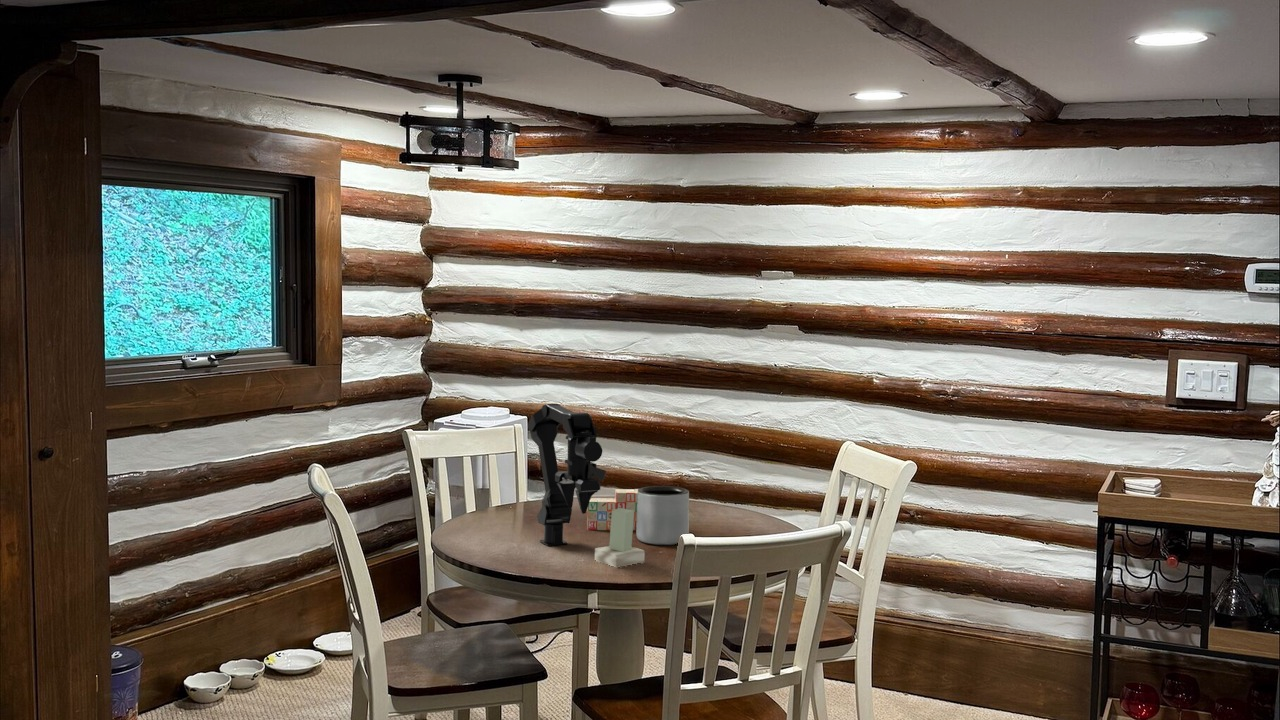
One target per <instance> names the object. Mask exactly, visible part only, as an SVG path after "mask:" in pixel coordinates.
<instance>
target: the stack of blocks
mask: <svg viewBox="0 0 1280 720" xmlns="http://www.w3.org/2000/svg"><path fill="white" fill-rule="evenodd" d="M638 489H639V488H634V489H632V488H631V489H630V488H629V489H627V488H625V489H623V488H620V489H619V488H617V489H615V492H614V493H615V494H614V498H611V497H610V498H606V497H605V498H603V497H601V498H599V497H596V498H595V497H593V498H592V497H591V499H590V502H589V505H588V508H587V511H586V529H587V531H610V529H611V516H612V510H615V509H618V508H623V509H628V510H633V511H634V520H633V531H636V530H637V496H638Z"/></svg>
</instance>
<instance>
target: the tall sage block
mask: <svg viewBox="0 0 1280 720" xmlns="http://www.w3.org/2000/svg"><path fill="white" fill-rule="evenodd" d="M633 520H634V511H633V510H628V509H623V508H618V509H615V510H612V516H611V529H610V530H609V531H610V532H609V545H608V546H609V549H612V550H616V551H621V552H624V551H627V550H630V549H631V546H632V544H633V531H634V530H633Z"/></svg>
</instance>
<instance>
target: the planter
mask: <svg viewBox="0 0 1280 720" xmlns="http://www.w3.org/2000/svg"><path fill="white" fill-rule="evenodd" d="M637 489H638V496H637V530H635V531H636V534H635V535H636V539H637V540H639V541H640V542H641V543H644V544H647V545H648V544H649V545H653V546H654V545H655V546H674V545H675V544H676V545H678V544H677V543H678V540H679V537H680V535H681V534H686V533H689V534H690V532H689V531H690V525H689V523H690V517H689V516H690V515H689V513H690V491H689V490H688V489H686V488H684V487H679V486H671V485H653V486H645V487H640V488H637Z"/></svg>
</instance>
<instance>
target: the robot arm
mask: <svg viewBox="0 0 1280 720" xmlns="http://www.w3.org/2000/svg"><path fill="white" fill-rule="evenodd" d="M527 423H528V424H527V427H528V431H529V433H530V436H531V439H532V441H533V442H534V443H535V444H536V446H537V447H538V454H539V459H540V464H541V465H540V466H541V470H542V478H543V484H544V490H545V491H544V492H545V493H544V495H543V498H542V500H541V507H540V510H539V511H538V514H537V523H538V524H540V525H542V526H543V529H544V531H543V539H540V540H539V542H540V543H542V544H543V545H544V546H547V547H551V546H552V547H553V546H561V545H567V544H568V542H567V541H565V540H564V524H570V523H571V518H572V517H571V516H572V511H573V504H574V498H575V494H576V497H577V502H578V506H579V510H580V512H581V514H583V515H584V514H587V508H588V505H589V502H590V499H591V498H592V497H593V495H594V494H595V493H598V492H599V491H600V490H601V483H600V481H601V482H604V480H605V476H606V473H607V470H604V469H602V468H599V467H597V463H594V462H596V461H599V459H600V458H601V457H602V455H603V448H602V445H601V444H600V443H599V442H597V437H598V436H597V429H596V426H595V424H594V422H593V418H592V417H591V415H590V414H589V413H588V412H574V411H572V410H570V409H567V408H566V407H564V406H562V405H561V404H560V403H545V404H542V407H541V408H540V409H539V410H537V411H536V412H535V413H533V414H532V415H531V417H530V419H529V421H528V422H527ZM560 425H562V429H563V430H564V431H565V432H566V434H567V435H565V439H566V440H567V459H564V463H565V464H567V470H561V471H559V467H558V462H557V461H558V460H557V455H556V454H557V453H556V449H555V441H556V438H557V435H558V428H559V427H560Z"/></svg>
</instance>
